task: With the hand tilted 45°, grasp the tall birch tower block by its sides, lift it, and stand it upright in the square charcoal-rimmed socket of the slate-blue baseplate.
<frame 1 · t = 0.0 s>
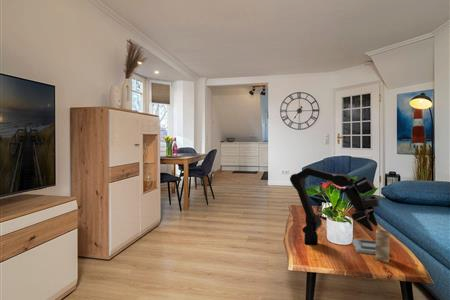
hand: (374, 228, 117), 15 cm above the table, tool tilted 35°, fingers open, 9 cm apart
baseplate: (369, 248, 129), on the table
birch block: (382, 259, 117), on the table
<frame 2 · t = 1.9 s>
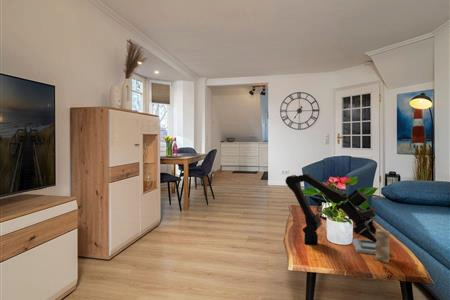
hand: (377, 238, 118), 9 cm above the table, tool tilted 45°, fingers open, 9 cm apart
nothing on the table moved.
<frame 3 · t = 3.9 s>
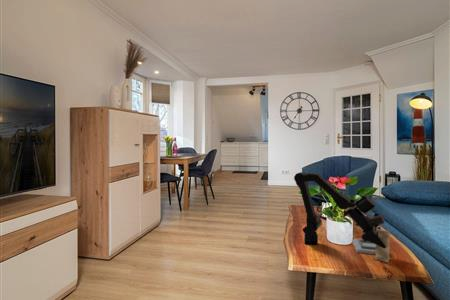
hand: (386, 245, 116), 7 cm above the table, tool tilted 45°, fingers closed on birch block, 5 cm apart
birch block: (382, 259, 117), on the table, touching gripper
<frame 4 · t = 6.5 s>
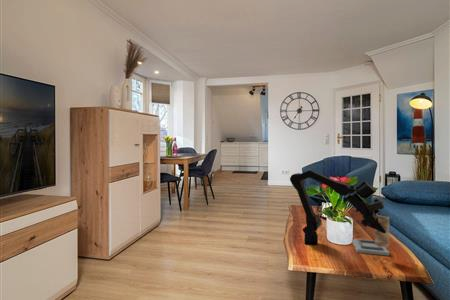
hand: (385, 231, 116), 14 cm above the table, tool tilted 45°, fingers closed on birch block, 5 cm apart
birch block: (382, 244, 117), point 7 cm above the table, touching gripper
when the fingers open (10 cm above the table, at t = 9.5 s): birch block drops 2 cm, resting on baseplate.
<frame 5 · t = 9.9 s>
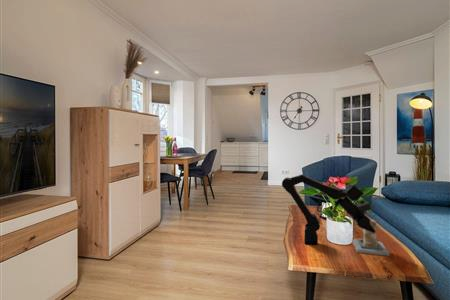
hand: (372, 229, 129), 10 cm above the table, tool tilted 45°, fingers open, 9 cm apart
birch block: (369, 245, 129), point 1 cm above the table, touching baseplate
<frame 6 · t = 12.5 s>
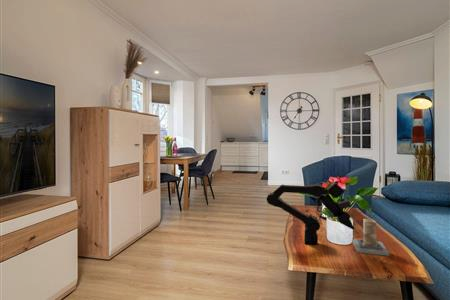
hand: (350, 226, 132), 10 cm above the table, tool tilted 40°, fingers open, 9 cm apart
nothing on the table moved.
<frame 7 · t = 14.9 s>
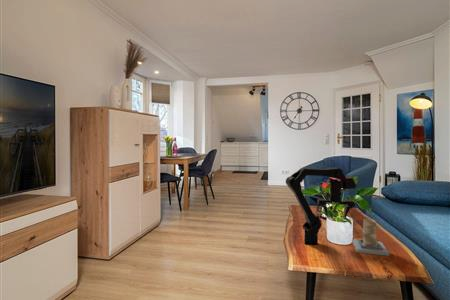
hand: (335, 217, 139), 13 cm above the table, tool pointing down, fingers open, 9 cm apart
nothing on the table moved.
at the end: birch block 0.0 cm off-centre on the baseplate, point 1.5 cm above the baseplate's base; birch block tilted 0°; the gripper is holding nothing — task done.
